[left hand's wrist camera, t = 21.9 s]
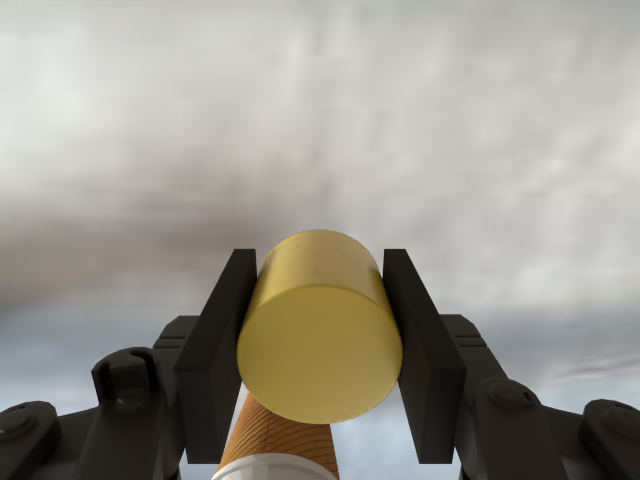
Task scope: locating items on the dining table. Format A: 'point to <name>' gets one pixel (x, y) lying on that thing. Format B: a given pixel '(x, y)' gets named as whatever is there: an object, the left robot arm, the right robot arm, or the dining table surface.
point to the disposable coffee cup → (276, 448)
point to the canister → (319, 331)
